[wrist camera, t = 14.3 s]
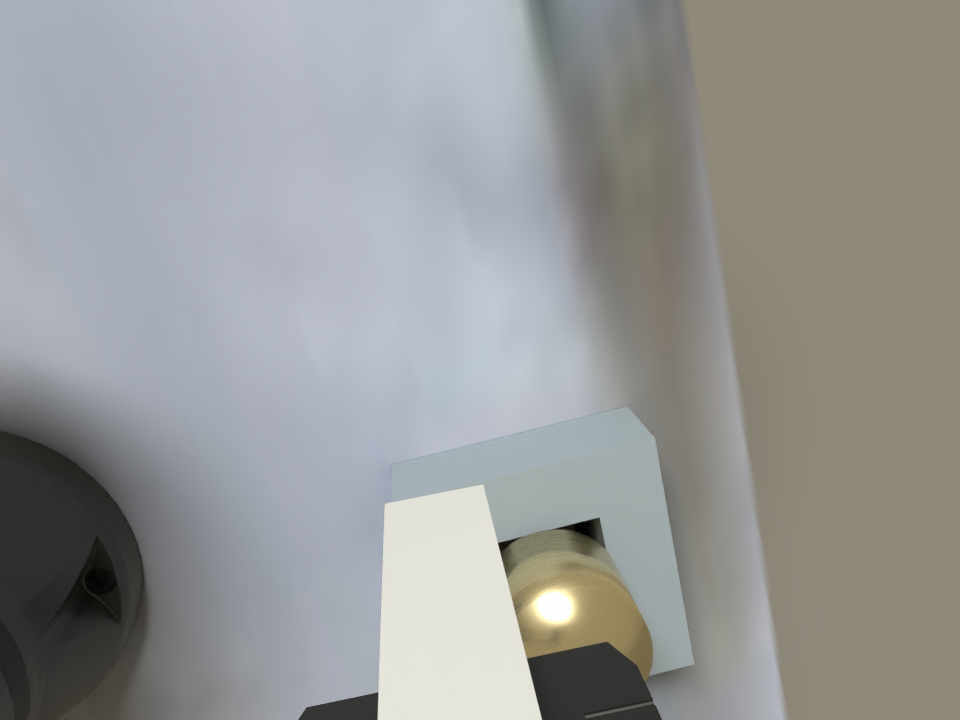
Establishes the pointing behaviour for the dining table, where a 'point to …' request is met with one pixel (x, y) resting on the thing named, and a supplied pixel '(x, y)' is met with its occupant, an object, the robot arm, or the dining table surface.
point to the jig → (577, 504)
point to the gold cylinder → (572, 596)
